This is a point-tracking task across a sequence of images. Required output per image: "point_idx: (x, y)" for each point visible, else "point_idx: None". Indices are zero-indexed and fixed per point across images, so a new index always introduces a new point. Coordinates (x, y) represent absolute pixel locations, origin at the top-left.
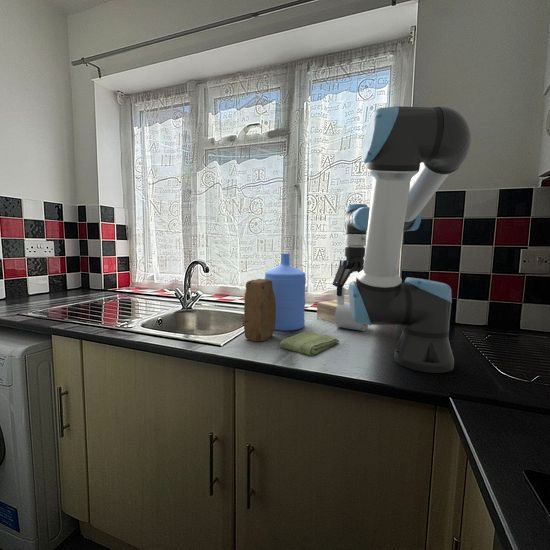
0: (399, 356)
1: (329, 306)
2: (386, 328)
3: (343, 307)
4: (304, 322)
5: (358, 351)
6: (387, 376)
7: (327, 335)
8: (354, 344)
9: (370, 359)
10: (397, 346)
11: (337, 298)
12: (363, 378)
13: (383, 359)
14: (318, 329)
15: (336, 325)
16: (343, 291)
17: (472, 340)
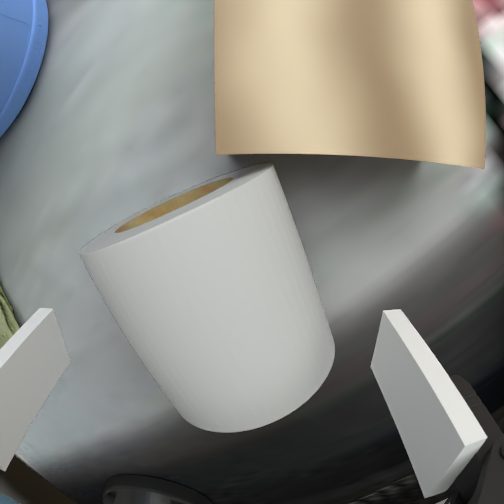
0: (102, 495)
1: (214, 26)
2: (374, 341)
3: (111, 308)
4: (9, 113)
5: (64, 420)
6: (59, 478)
7: (4, 338)
8: (81, 393)
9: (67, 449)
10: (115, 499)
11: (14, 336)
12: (23, 458)
13: (93, 463)
14: (53, 178)
15: (140, 211)
16: (9, 440)
17: (409, 477)
